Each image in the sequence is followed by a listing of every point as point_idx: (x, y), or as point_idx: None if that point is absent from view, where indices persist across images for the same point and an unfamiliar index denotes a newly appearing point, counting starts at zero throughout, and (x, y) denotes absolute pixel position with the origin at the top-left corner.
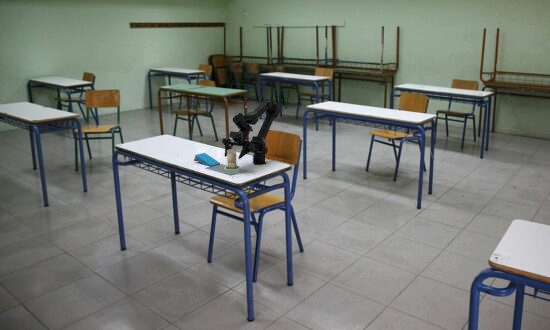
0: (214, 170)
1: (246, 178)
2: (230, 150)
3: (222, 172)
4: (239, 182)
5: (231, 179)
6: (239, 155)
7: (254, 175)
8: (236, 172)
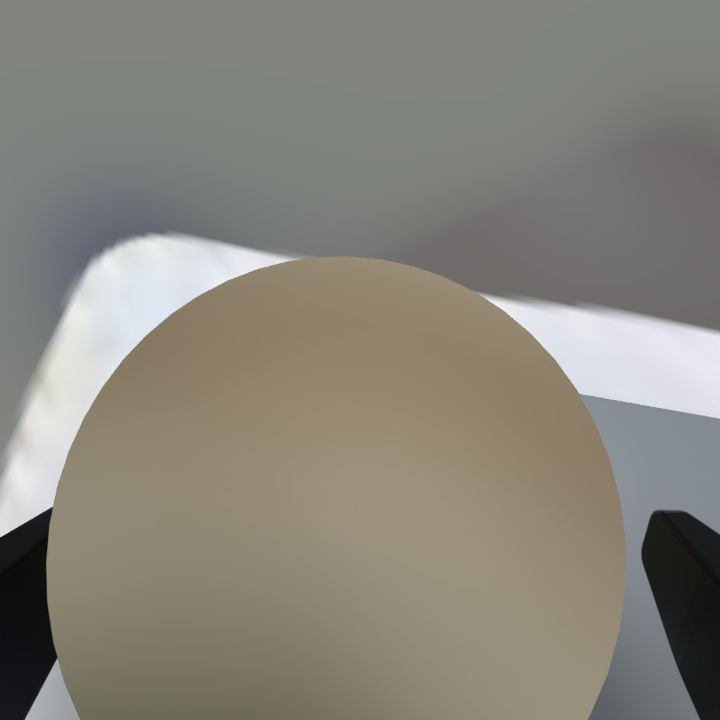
0: (711, 435)
1: None
2: (343, 438)
3: None
4: (108, 263)
5: None
6: (8, 557)
7: None
8: None
